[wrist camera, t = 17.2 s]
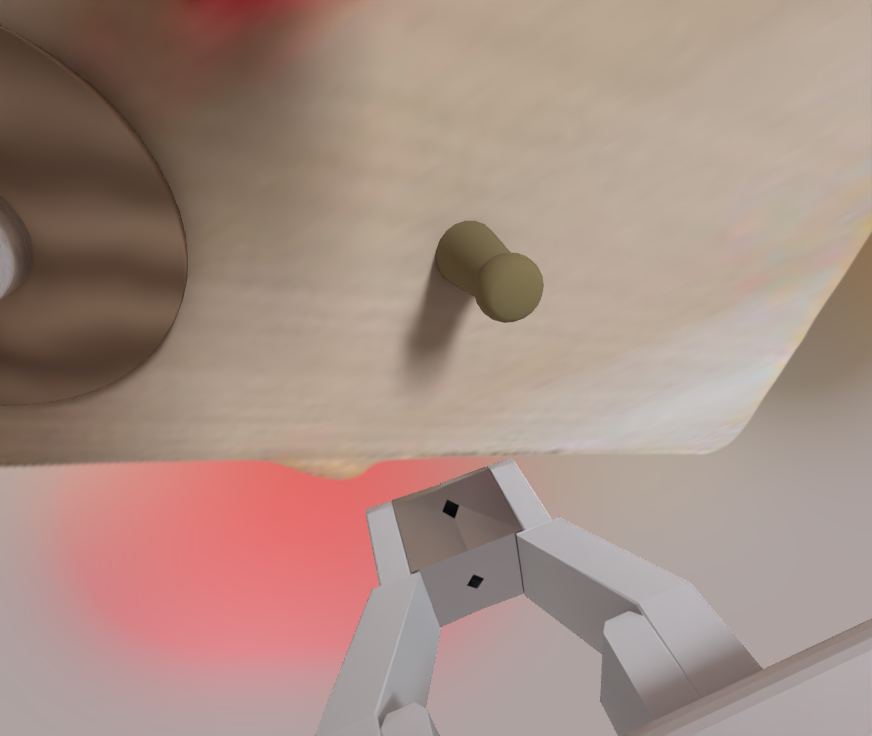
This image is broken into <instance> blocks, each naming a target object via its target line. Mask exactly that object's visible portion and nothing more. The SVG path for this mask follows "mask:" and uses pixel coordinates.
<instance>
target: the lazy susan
mask: <svg viewBox="0 0 872 736" xmlns="http://www.w3.org/2000/svg"><path fill="white" fill-rule="evenodd" d="M0 195H1V196H2V197H3V198H4V199H5V200H6V201H7V202H8V203H9V204H10V205H11V206H12V207H13V208H14V210H15V211H16V212H17V214H18V215H19V216H20V218H21V219H22V221H23V223H24V224H25V226H26V228H27V230H28V232H29V235H30V238H31V241H32V246H33V263H32V268H31V270H30V273H29V275H28V277H27V278H26V280H25V281H24V282H23V283H22V284H21V285H20V286H19V287H18V288H17V289H15V290H14V291H12V292H11V293H10V294H8V295H7V296H5V297H4V298H2V299H1V300H0V405H30V404H38V403H47V402H54V401H59V400H63V399H68V398H72V397H77V396H79V395H82V394H85V393H88V392H91V391H94V390H97V389H100V388H102V387H104V386H106V385H108V384H110V383H112V382H114V381H116V380H118V379H120V378H121V377H123V376H124V375H126V374H127V373H129V372H130V371H132V370H133V369H135V368H136V367H137V366H138V365H140V364H141V363H142V362H143V361H144V360H145V359H146V358H148V357H149V356H150V355H151V353H152V352H153V351H154V350H155V349H156V347H157V346H158V345H159V344H160V343H161V341H162V340H163V339H164V337H165V335H166V333H167V332H168V330H169V328H170V327H171V325H172V323H173V321H174V319H175V317H176V315H177V313H178V310H179V307H180V305H181V302H182V300H183V296H184V291H185V286H186V281H187V268H188V253H187V244H186V235H185V231H184V227H183V223H182V219H181V215H180V211H179V209H178V206H177V204H176V201H175V199H174V196H173V194H172V191H171V189H170V186H169V185H168V183H167V181H166V179H165V177H164V175H163V173H162V171H161V170H160V168H159V166H158V164H157V162H156V161H155V159H154V158H153V156H152V155H151V153H150V152H149V151H148V149H147V148H146V146H145V145H144V143H143V142H142V140H141V139H140V137H139V136H138V135H137V134H136V133H135V131H134V130H133V129H132V128H131V127H130V126H129V124H128V123H127V122H126V121H125V120H124V118H123V117H122V116H121V115H120V114H119V113H118V111H117V110H116V109H114V108H113V107H112V106H111V105H110V104H109V103H108V102H107V101H106V100H105V99H104V98H103V97H102V96H101V95H100V94H99V93H98V92H97V91H96V90H95V89H94V88H93V87H92V86H91V85H89V84H88V83H87V82H86V81H84V80H83V79H82V78H81V77H79V76H78V75H77V74H76V73H74V72H73V71H72V70H71V69H69V68H68V67H67V66H66V65H64V64H63V63H62V62H60V61H59V60H57V59H56V58H54V57H53V56H51V55H50V54H48V53H47V52H45V51H44V50H42V49H41V48H39V47H38V46H36V45H35V44H33V43H32V42H30V41H29V40H27V39H25V38H23V37H21V36H19V35H18V34H16V33H14V32H12V31H10V30H8V29H6V28H5V27H3V26H1V25H0Z"/></svg>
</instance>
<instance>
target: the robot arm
mask: <svg viewBox="0 0 872 736" xmlns="http://www.w3.org/2000/svg"><path fill="white" fill-rule="evenodd" d="M366 518H367V523H368V529H369V534H370V539H371V544H372V549H373V554H374V559H375V564H376V570H377V575H378V580H379V585H380V586H379V587H377V588H374V589H372V590H371V593H370V596H369V598H368V600H367V603H366V606H365V608H364V611H363V613H362V616H361V618H360V621H359V623H358V626H357V629H356V631H355V634H354V636H353V639H352V641H351V644H350V646H349V649H348V651H347V654H346V657H345V659H344V662H343V664H342V667H341V669H340V672H339V675H338V677H337V680H336V682H335V685H334V687H333V690H332V692H331V695H330V697H329V700H328V703H327V705H326V708H325V710H324V713H323V715H322V718H321V721H320V723H319V726H318V728H317V730H316V733H315V736H440V735H439V733H438V731H437V729H436V727H435V725H434V723H433V721H432V719H431V717H430V715H429V713H428V710H427V709H426V704H427V699H428V694H429V689H430V683H431V679H432V673H433V668H434V663H435V658H436V653H437V648H438V643H439V638H440V632H441V630H440V627H442V626H444V625H447V624H449V623H451V622H453V621H456V620H458V619H460V618H463V617H465V616H467V615H470V614H472V613H474V612H476V611H479V610H481V609H483V608H486V607H489V606H491V605H494V604H497V603H500V602H502V601H505V600H508V599H510V598H513V597H516V596H518V595H521V594H524V593H525V596H526V597H527V598H529V599H530V600H531V601H533V602H534V603H535V604H537V605H538V606H539V607H541V608H542V609H543V610H545V611H546V612H547V613H548V614H550V615H551V616H553V617H554V618H555V619H556V620H558V621H559V622H560V623H562V624H563V625H564V626H566V627H567V628H568V629H570V630H571V631H572V632H573V633H575V634H576V635H577V636H579V637H580V638H581V639H583V640H584V641H585V642H587V643H588V644H589V645H590V646H592V647H593V648H594V649H596V650H597V651H598V652H600V653H601V654H602V674H601V694H600V695H601V696H600V702H601V703H602V705H603V707H604V709H605V711H606V713H607V715H608V717H609V719H610V721H611V723H612V725H613V727H614V729H615V731H616V733H617V735H618V736H872V619H870V620H867V621H865V622H863V623H861V624H859V625H857V626H855V627H852V628H850V629H848V630H846V631H844V632H842V633H840V634H838V635H835V636H833V637H831V638H829V639H827V640H825V641H822V642H820V643H818V644H816V645H814V646H812V647H810V648H807V649H805V650H803V651H801V652H799V653H797V654H795V655H792V656H790V657H788V658H786V659H784V660H782V661H780V662H777V663H775V664H773V665H771V666H769V667H767V668H765V669H762V667H761V666H760V665H759V664H758V663H757V662H756V660H755V659H754V658H753V657H752V656H751V655H750V653H749V652H748V651H747V650H746V648H745V647H744V646H743V645H742V644H741V642H740V641H739V640H738V639H737V638H736V636H735V635H734V634H733V633H732V632H731V631H730V629H729V628H728V627H727V626H726V625H725V623H724V622H723V621H722V620H721V619H720V617H719V616H718V615H717V614H716V613H715V612H714V610H713V609H712V608H711V607H710V606H709V604H708V603H707V602H706V601H705V600H704V598H703V597H702V596H701V595H700V593H699V592H698V591H697V590H696V589H695V588H694V586H693V585H692V584H691V583H690V582H688V581H686V580H684V579H682V578H680V577H678V576H676V575H673V574H672V573H670V572H668V571H666V570H664V569H662V568H660V567H658V566H655V565H654V564H652V563H650V562H648V561H646V560H644V559H642V558H640V557H638V556H636V555H634V554H632V553H630V552H628V551H626V550H624V549H622V548H620V547H618V546H616V545H614V544H612V543H610V542H608V541H606V540H604V539H602V538H600V537H598V536H596V535H594V534H592V533H590V532H588V531H586V530H584V529H582V528H580V527H578V526H576V525H574V524H572V523H570V522H568V521H566V520H564V519H562V518H560V517H559V518H556V519H553V520H552V519H551V517H550V516H549V514H548V512H547V511H546V509H545V508H544V506H543V505H542V503H541V502H540V500H539V498H538V497H537V495H536V494H535V492H534V491H533V489H532V488H531V486H530V484H529V483H528V481H527V480H526V478H525V477H524V475H523V473H522V472H521V470H520V469H519V467H518V466H517V464H516V463H515V461H514V460H513V459H511V458H508V459H505V460H503V461H500V462H497V463H494V464H492V465H489V466H487V467H483V468H480V469H477V470H475V471H472V472H469V473H467V474H464V475H462V476H459V477H456V478H453V479H451V480H448V481H445V482H443V483H440V484H439V485H436V486H434V487H430V488H428V489H424V490H421V491H418V492H415V493H412V494H409V495H406V496H403V497H400V498H397V499H394V500H392V501H389V502H386V503H383V504H380V505H377V506H374V507H371V508H368V509H366Z"/></svg>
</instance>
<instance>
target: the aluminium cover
mask: <svg viewBox="0 0 872 736" xmlns="http://www.w3.org/2000/svg"><path fill="white" fill-rule="evenodd" d="M32 263H33V246H32V241H31V238H30V235H29V232H28V230H27V228H26V226H25V224H24V223H23V221H22V219H21V218H20V216H19V215H18V214H17V212H16V211H15V210H14V208H13V207H12V206H11V205H10V204H9V203H8V202H7V201H6V200H5V199H4V198H3V197H2V196H1V195H0V300H1V299H2V298H4V297H5V296H7V295H8V294H10V293H11V292H12V291H14V290H15V289H17V288H18V287H19V286H20V285H21V284H22V283H23V282H24V281H25V280H26V278H27V277H28V275H29V273H30V270H31V268H32Z"/></svg>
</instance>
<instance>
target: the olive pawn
mask: <svg viewBox="0 0 872 736" xmlns="http://www.w3.org/2000/svg"><path fill="white" fill-rule="evenodd" d="M436 262H437V266H438V270H439V271H440V273H441V274H442V276H443V277H444V278H445V279H446V280H448V281H449V282H451V283H452V284H454V285H456V286H457V287H459V288H461V289H462V290H464V291H466V292H468V293H469V294H471V295H473V296H474V297H475V298H476V302H477V304H478V305H479V307H480V309H481V310H482V311H483V312H484V314H486V315H487V316H489V317H490V318H491V319H493V320H496V321H500V322H504V323H505V322H515V321H517V320H520V319H523V318H525V317H526V316H528V315H529V314H530V313H532V312H533V310H534V309H535V308H536V307H537V306H538V304H539V301H540V299H541V297H542V292H543V286H544V285H543V277H542V274H541V272H540V270H539V268H538V267H537V265H536V264H535V263H534V262H533V261H532V260H530V259H529V258H528V257H526V256H524V255H521V254H518V253H511V252H510V251H509V250H508V249H507V248H506V247H505V245H504V244H503V243H502V242H501V241H500V240H499V239H498V237H497V236H496V235H495V234H494V233H493V232H492V231H491V230H490V229H489V228H488V227H487V226H486V225H485V224H482V223H480V222H477V221H464V222H461V223H458V224H455V225H454V226H453V227H451V228H450V229H449V230H447V231H446V233H445V234H444V235H443V237H442V238H441V239H440V242H439V245H438V247H437V251H436Z"/></svg>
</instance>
